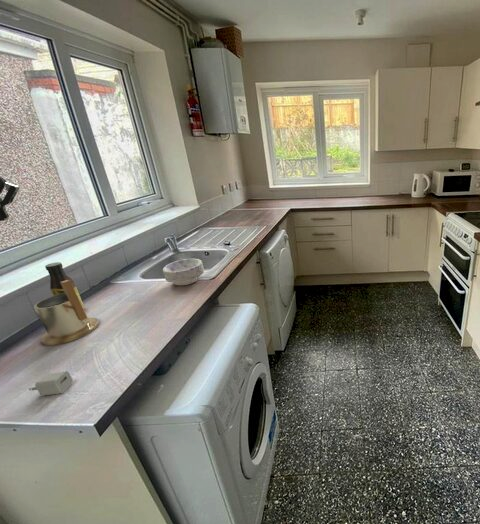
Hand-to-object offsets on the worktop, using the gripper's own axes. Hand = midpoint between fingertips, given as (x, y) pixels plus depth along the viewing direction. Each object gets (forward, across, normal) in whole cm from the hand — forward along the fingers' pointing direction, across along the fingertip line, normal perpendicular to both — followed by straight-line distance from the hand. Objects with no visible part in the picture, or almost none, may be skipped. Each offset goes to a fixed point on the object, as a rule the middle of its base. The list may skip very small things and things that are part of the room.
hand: (3, 220), depth 84 cm
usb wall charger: (+37, +8, -38) cm, 54 cm away
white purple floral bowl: (+37, +40, +14) cm, 56 cm away
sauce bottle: (+37, +3, +7) cm, 38 cm away
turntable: (+37, +5, -7) cm, 38 cm away
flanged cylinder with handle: (+36, +7, -9) cm, 38 cm away
